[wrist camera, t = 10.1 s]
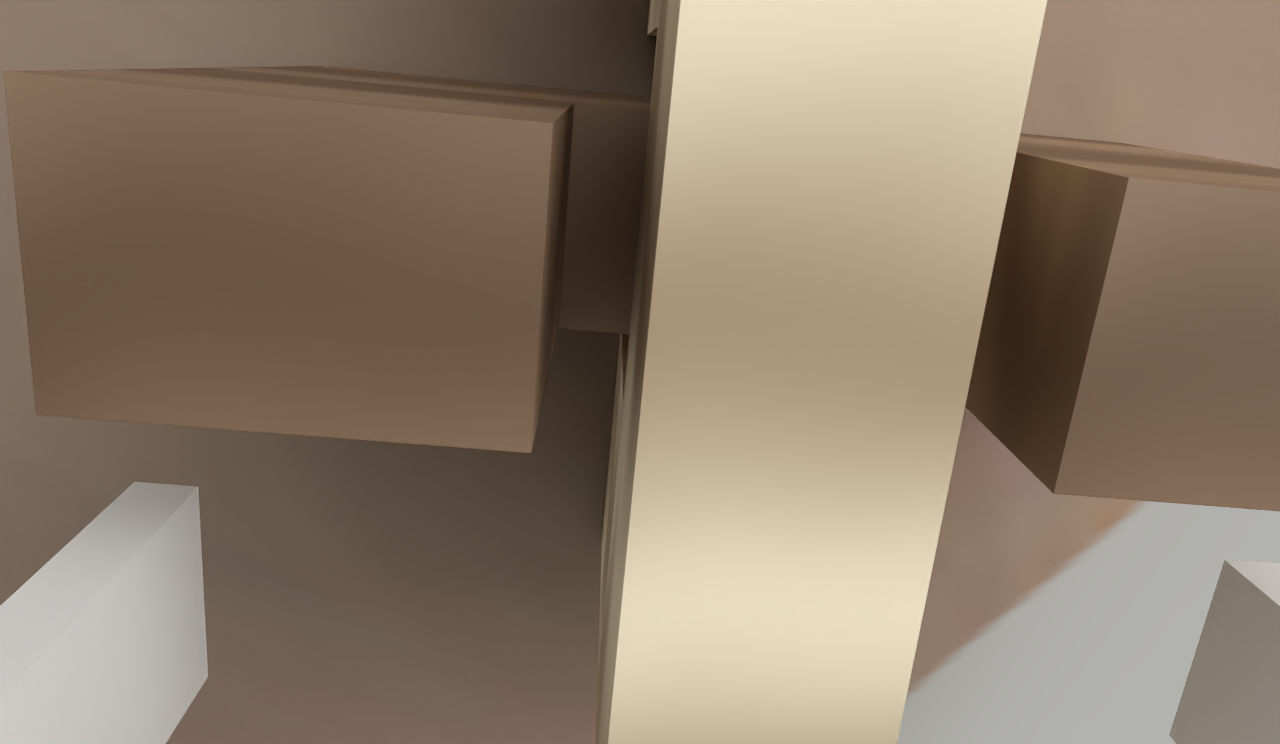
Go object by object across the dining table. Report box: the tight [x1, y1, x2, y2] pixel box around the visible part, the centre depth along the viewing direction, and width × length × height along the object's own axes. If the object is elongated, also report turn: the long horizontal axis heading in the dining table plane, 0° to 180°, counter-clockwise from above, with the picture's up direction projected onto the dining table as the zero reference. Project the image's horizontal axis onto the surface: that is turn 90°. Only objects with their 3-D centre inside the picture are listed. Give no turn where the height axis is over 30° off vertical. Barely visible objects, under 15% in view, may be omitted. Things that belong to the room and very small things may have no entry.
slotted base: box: [3, 66, 1280, 511], centre depth 13 cm, size 3×14×9 cm, turn 85°
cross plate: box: [596, 0, 1047, 744], centre depth 13 cm, size 14×3×9 cm, turn 175°
